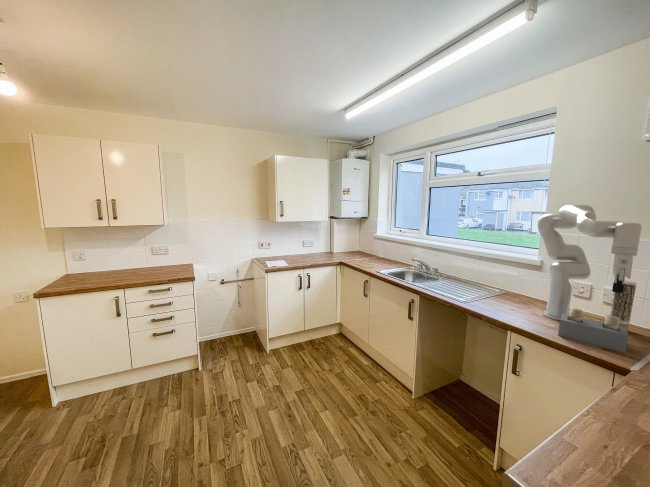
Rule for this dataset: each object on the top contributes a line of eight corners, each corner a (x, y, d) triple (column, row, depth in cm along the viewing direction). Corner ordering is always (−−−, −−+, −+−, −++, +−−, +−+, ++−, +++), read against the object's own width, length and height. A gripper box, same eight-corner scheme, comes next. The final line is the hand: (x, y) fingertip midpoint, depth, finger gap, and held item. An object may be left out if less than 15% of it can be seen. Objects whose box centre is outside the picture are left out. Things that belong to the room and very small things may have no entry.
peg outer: (603, 332, 123) (605, 316, 122) (602, 329, 126) (605, 314, 125) (617, 335, 120) (620, 319, 119) (616, 332, 123) (619, 317, 122)
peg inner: (567, 323, 131) (569, 309, 130) (568, 321, 134) (570, 307, 133) (580, 326, 128) (582, 312, 127) (580, 323, 131) (582, 309, 130)
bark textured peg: (631, 332, 136) (640, 284, 132) (615, 331, 137) (624, 283, 133) (620, 326, 142) (628, 280, 139) (604, 325, 143) (612, 279, 140)
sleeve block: (558, 335, 131) (560, 319, 130) (559, 328, 139) (561, 313, 138) (625, 352, 116) (628, 335, 115) (623, 343, 124) (626, 327, 123)
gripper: (639, 254, 110) (632, 298, 112) (635, 250, 120) (628, 290, 123) (612, 251, 115) (605, 293, 117) (610, 248, 125) (604, 287, 128)
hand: (617, 292), depth 120 cm, fingers closed
